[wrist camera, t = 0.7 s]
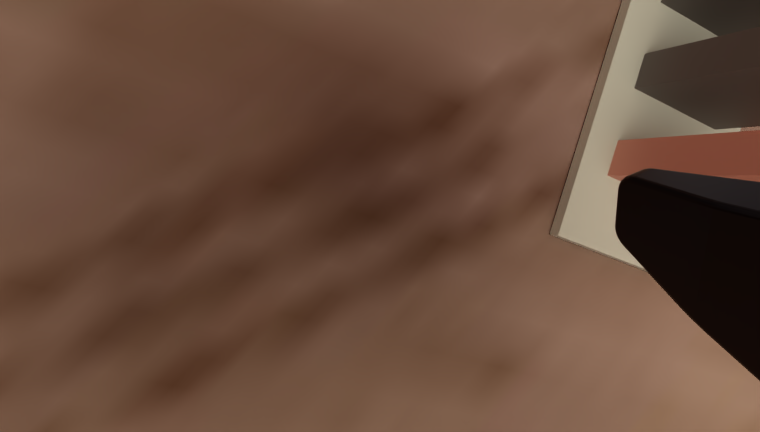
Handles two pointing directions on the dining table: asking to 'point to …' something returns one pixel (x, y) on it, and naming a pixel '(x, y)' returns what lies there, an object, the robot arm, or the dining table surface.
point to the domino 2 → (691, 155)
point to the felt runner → (622, 124)
